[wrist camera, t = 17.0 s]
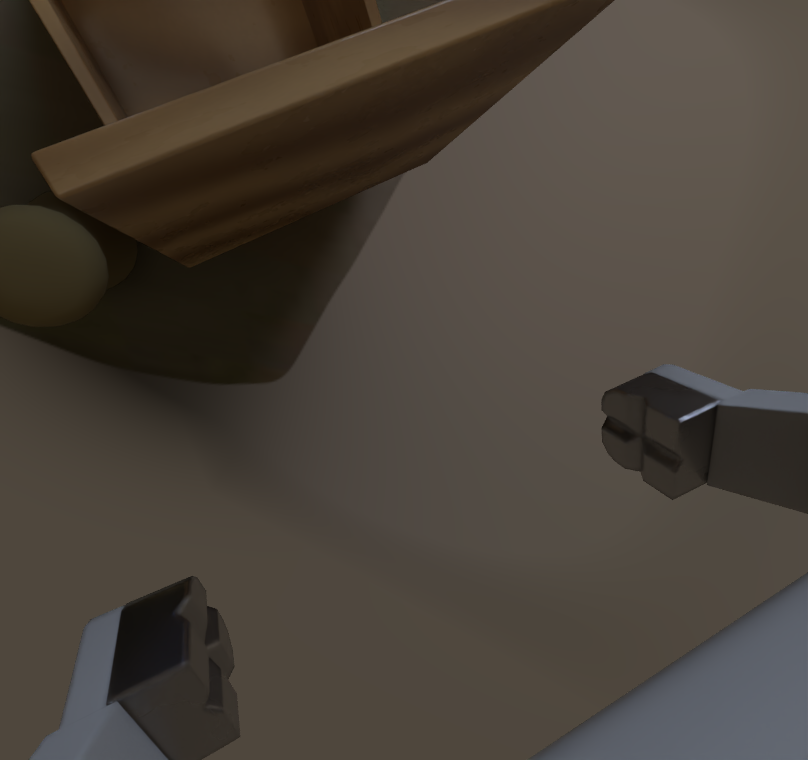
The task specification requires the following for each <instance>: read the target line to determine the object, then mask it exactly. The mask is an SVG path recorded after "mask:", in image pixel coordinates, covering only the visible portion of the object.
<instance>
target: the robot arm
mask: <svg viewBox="0 0 808 760" xmlns="http://www.w3.org/2000/svg"><path fill="white" fill-rule="evenodd" d="M602 411H603V412H604V413H605V414H606V415H607V418H606V420H605V423H604V424H603V426H602V442H603V444H604V446H605V448H606V450H607V452H608V454H609V455H610V456H611V457H612V459H613V460H614V461H615V462H617V463H618V464H619V465H621V466H622V467H624V468H625V469H630V470H635V471H640V472H641V475H642V478H643V481H645V482H646V483H648V484H649V485H651V486H652V487H654V488H655V489H657V490H658V491H660V492H661V493H663V494H664V495H666V496H667V497H669V498H670V499H672V500H673V499H676V498H678V497H679V496H681V495H683V494H685V493H687V492H689V491H691V490H693V489H695V488H697V487H699V486H701V485H703V484H705V483H707V485H709V486H712V487H716V488H719V489H723V490H726V491H730V492H733V493H737V494H740V495H744V496H747V497H751V498H754V499H758V500H761V501H765V502H769V503H772V504H775V505H779V506H782V507H786V508H789V509H793V510H796V511H800V512H803V513H807V514H808V393H798V392H785V391H771V390H758V389H748V390H746V391H744V392H743V391H741V390H738V389H736V388H733V387H730V386H728V385H725V384H722V383H720V382H717V381H714V380H712V379H709V378H707V377H704V376H701V375H698V374H696V373H694V372H691V371H688V370H686V369H683V368H681V367H678V366H675V365H666V364H665V365H664V364H663V365H661V366H659V367H657V368H655V369H653V370H651V371H649V372H646V373H645V374H643V375H641V376H639V377H637V378H635V379H632V380H630V381H628V382H626V383H624V384H621V385H619V386H617V387H615V388H613V389H610V390H608V391H606V392H605V393H604V395H603V398H602ZM233 669H234V658H233V650H232V645H231V642H230V638H229V633H228V630H227V628H226V626H225V623H224V621H223V619H222V617H221V615H220V613H219V612H218V610H217V609H215V608H212V607H209V606H207V599H206V590H205V588H204V587H203V586H202V584H201V583H200V581H199V579H198V578H197V577H194V576H191V577H188V578H186V579H184V580H181V581H179V582H177V583H174V584H172V585H169V586H167V587H165V588H162V589H160V590H158V591H155V592H153V593H150V594H148V595H146V596H144V597H141V598H139V599H136V600H134V601H131V602H129V603H127V604H126V605H124V606H121V607H119V608H116V609H114V610H112V611H109V612H107V613H105V614H102V615H100V616H98V617H95V618H93V619H91V620H90V621H89V622H88V624H87V625H86V626H85V627H84V630H83V633H82V637H81V641H80V645H79V649H78V653H77V658H76V661H75V666H74V670H73V674H72V678H71V682H70V686H69V690H68V694H67V698H66V702H65V706H64V710H63V715H62V719H61V723H60V727H59V730H57V731H55V732H53V733H51V734H49V735H48V736H46V737H45V739H44V740H43V741H42V743H41V744H40V745H39V747H38V748H37V749H36V751H35V752H34V753H33V755H32V756H31V757H30V759H29V760H202V759H203V758H205V757H207V756H208V755H210V754H212V753H214V752H215V751H217V750H219V749H220V748H222V747H224V746H226V745H227V744H229V743H231V742H232V741H234V740H236V739H237V738H239V737H240V728H239V717H238V703H237V693H236V692H235V690H234V689H233V687H232V685H231V684H230V682H229V681H228V679H229V677H230V675H231V673H232V670H233ZM528 760H808V573H806V574H805V575H803V576H802V577H800V578H799V579H797V580H796V581H794V582H793V583H791V584H790V585H788V586H787V587H785V588H784V589H782V590H781V591H779V592H778V593H776V594H775V595H773V596H772V597H770V598H769V599H767V600H766V601H764V602H763V603H761V604H760V605H758V606H757V607H755V608H754V609H752V610H751V611H749V612H748V613H746V614H745V615H743V616H742V617H740V618H739V619H737V620H736V621H734V622H733V623H731V624H730V625H728V626H727V627H725V628H724V629H722V630H721V631H719V632H718V633H716V634H715V635H714V636H712V637H710V638H709V639H707V640H706V641H704V642H703V643H701V644H700V645H698V646H697V647H696V648H694V649H692V650H691V651H689V652H688V653H686V654H685V655H683V656H682V657H680V658H679V659H677V660H676V661H674V662H673V663H671V664H670V665H668V666H667V667H665V668H664V669H663V670H661V671H660V672H658V673H656V674H655V675H653V676H652V677H650V678H649V679H647V680H646V681H645V682H643V683H642V684H640V685H639V686H637V687H636V688H634V689H632V690H631V691H629V692H628V693H626V694H625V695H624V696H622V697H620V698H619V699H618V700H616V701H615V702H613V703H611V704H610V705H608V706H607V707H605V708H604V709H602V710H601V711H600V712H598V713H597V714H595V715H594V716H592V717H591V718H589V719H588V720H586V721H585V722H583V723H582V724H580V725H579V726H577V727H576V728H574V729H573V730H571V731H570V732H568V733H567V734H565V735H564V736H562V737H561V738H559V739H558V740H557V741H555V742H553V743H552V744H550V745H549V746H547V747H546V748H544V749H543V750H541V751H540V752H538V753H537V754H535V755H534V756H532V757H531V758H529V759H528Z"/></svg>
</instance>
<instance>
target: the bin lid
mask: <svg viewBox="0 0 808 760" xmlns="http://www.w3.org/2000/svg"><path fill="white" fill-rule="evenodd" d="M613 1H614V0H444V1H441V2H438V3H436V4H433V5H430V6H427V7H425V8H422V9H419V10H417V11H414V12H411V13H409V14H406V15H403V16H400V17H398V18H395V19H392V20H390V21H387V22H384V23H381V24H379V25H376V26H373V27H371V28H368V29H365V30H363V31H360V32H357V33H354V34H352V35H349V36H346V37H344V38H341V39H338V40H335V41H333V42H330V43H327V44H325V45H322V46H319V47H316V48H314V49H311V50H308V51H306V52H303V53H300V54H298V55H295V56H292V57H289V58H287V59H284V60H281V61H279V62H276V63H273V64H270V65H268V66H265V67H262V68H260V69H257V70H254V71H251V72H249V73H246V74H243V75H241V76H238V77H235V78H233V79H230V80H227V81H224V82H222V83H219V84H216V85H214V86H211V87H208V88H205V89H203V90H200V91H197V92H195V93H192V94H189V95H186V96H184V97H181V98H178V99H176V100H173V101H170V102H168V103H165V104H162V105H159V106H157V107H154V108H151V109H149V110H146V111H143V112H140V113H138V114H135V115H132V116H130V117H127V118H124V119H122V120H119V121H116V122H113V123H111V124H108V125H105V126H103V127H100V128H97V129H94V130H92V131H89V132H86V133H84V134H81V135H78V136H75V137H73V138H70V139H67V140H65V141H62V142H59V143H57V144H54V145H51V146H48V147H46V148H43V149H40V150H38V151H35V152H33V153H32V154H31V156H32V160H33V162H34V163H35V165H36V166H37V168H38V170H39V171H40V173H41V174H42V176H43V178H44V179H45V181H46V182H47V184H48V186H49V187H50V189H51V190H52V192H53V194H54V195H55V196H56V197H57V198H58V199H60V200H62V201H64V202H66V203H67V204H69V205H71V206H73V207H75V208H77V209H79V210H81V211H83V212H84V213H86V214H88V215H90V216H92V217H94V218H96V219H98V220H100V221H101V222H103V223H105V224H107V225H109V226H111V227H113V228H115V229H117V230H118V231H120V232H122V233H124V234H126V235H128V236H130V237H132V238H134V239H135V240H137V241H139V242H141V243H143V244H145V245H147V246H149V247H150V248H152V249H154V250H156V251H158V252H160V253H162V254H164V255H166V256H167V257H169V258H171V259H173V260H175V261H177V262H179V263H181V264H183V265H184V266H186V267H188V268H191V267H193V266H195V265H197V264H200V263H202V262H204V261H206V260H209V259H211V258H213V257H215V256H218V255H220V254H222V253H224V252H227V251H229V250H231V249H233V248H236V247H238V246H240V245H242V244H245V243H247V242H249V241H251V240H254V239H256V238H258V237H260V236H263V235H265V234H267V233H269V232H272V231H274V230H276V229H278V228H281V227H283V226H285V225H288V224H290V223H292V222H294V221H297V220H299V219H301V218H303V217H306V216H308V215H310V214H312V213H315V212H317V211H319V210H321V209H324V208H326V207H328V206H330V205H333V204H335V203H337V202H339V201H342V200H344V199H346V198H348V197H351V196H353V195H355V194H357V193H360V192H362V191H364V190H366V189H369V188H371V187H373V186H375V185H378V184H380V183H382V182H384V181H387V180H389V179H391V178H393V177H396V176H398V175H400V174H402V173H405V172H407V171H409V170H411V169H414V168H416V167H418V166H421V165H423V164H425V163H427V162H428V161H429V160H431V159H432V158H433V157H434V156H435V155H437V154H438V153H439V152H440V151H441V150H442V149H443V148H445V147H446V146H447V145H448V144H449V143H450V142H451V141H453V140H454V139H455V138H456V137H457V136H458V135H459V134H461V133H462V132H463V131H464V130H465V129H466V128H468V127H469V126H470V125H471V124H472V123H473V122H475V121H476V120H477V119H478V118H479V117H480V116H481V115H483V114H484V113H485V112H486V111H487V110H488V109H489V108H491V107H492V106H493V105H494V104H495V103H497V102H498V101H499V100H500V99H501V98H502V97H503V96H504V95H506V94H507V93H508V92H509V91H510V90H512V89H513V88H514V87H515V86H516V85H517V84H518V83H520V82H521V81H522V80H523V79H524V78H525V77H527V76H528V75H529V74H530V73H531V72H532V71H533V70H535V69H536V68H537V67H538V66H539V65H540V64H542V63H543V62H544V61H545V60H546V59H547V58H548V57H549V56H551V55H552V54H553V53H554V52H555V51H557V50H558V49H559V48H560V47H561V46H562V45H563V44H565V43H566V42H567V41H568V40H569V39H570V38H572V37H573V36H574V35H575V34H576V33H577V32H579V31H580V30H581V29H582V28H583V27H584V26H585V25H587V24H588V23H589V22H590V21H591V20H592V19H594V18H595V17H596V16H597V15H598V14H599V13H600V12H601V11H603V10H604V9H605V8H606V7H607V6H608V5H610V4H611V3H612V2H613Z"/></svg>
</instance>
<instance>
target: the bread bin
mask: <svg viewBox="0 0 808 760" xmlns="http://www.w3.org/2000/svg"><path fill="white" fill-rule="evenodd" d="M29 1H30V3H31V5H32V6H33V8H34V10H35V11H36V13H37V15H38V16H39V18H40V20H41V21H42V23H43V25H44V26H45V28H46V30H47V31H48V33H49V35H50V36H51V38H52V40H53V41H54V43H55V45H56V46H57V48H58V50H59V51H60V53H61V55H62V56H63V58H64V60H65V61H66V63H67V65H68V66H69V68H70V70H71V71H72V73H73V75H74V76H75V78H76V80H77V81H78V83H79V85H80V86H81V88H82V90H83V91H84V93H85V95H86V96H87V98H88V100H89V101H90V103H91V105H92V106H93V108H94V110H95V111H96V113H97V115H98V116H99V118H100V120H101V121H102V123H103V125H104V126H105V125H108V124H111V123H113V122H116V121H119V120H122V119H124V118H127V117H130V116H132V115H135V114H138V113H140V112H143V111H146V110H149V109H151V108H154V107H157V106H159V105H162V104H165V103H168V102H170V101H173V100H176V99H178V98H181V97H184V96H186V95H189V94H192V93H195V92H197V91H200V90H203V89H205V88H208V87H211V86H214V85H216V84H219V83H222V82H224V81H227V80H230V79H233V78H235V77H238V76H241V75H243V74H246V73H249V72H251V71H254V70H257V69H260V68H262V67H265V66H268V65H270V64H273V63H276V62H279V61H281V60H284V59H287V58H289V57H292V56H295V55H298V54H300V53H303V52H306V51H308V50H311V49H314V48H316V47H319V46H322V45H325V44H327V43H330V42H333V41H335V40H338V39H341V38H344V37H346V36H349V35H352V34H354V33H357V32H360V31H363V30H365V29H368V28H371V27H373V26H376V25H379V24H381V23H382V20H381V17H380V14H379V10H378V7H377V3H376V0H29Z"/></svg>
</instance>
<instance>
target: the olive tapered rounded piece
mask: <svg viewBox="0 0 808 760" xmlns="http://www.w3.org/2000/svg"><path fill="white" fill-rule="evenodd" d="M137 253H138V249H137V242H136V240H135V239H134V238H132V237H130V236H128V235H126V234H124V233H122V232H120V231H118V230H117V229H115V228H113V227H111V226H109V225H107V224H105V223H103V222H101V221H100V220H98V219H96V218H94V217H92V216H90V215H88V214H86V213H84V212H83V211H81V210H79V209H77V208H75V207H73V206H71V205H69V204H67V203H66V202H64V201H62V200H60V199H58V198H57V197H56V196H55V195H54V194H53V192H52V191H50V192H45V193H43V194H41V195H40V196H38V197H37V198H35V199H34V200H32V201H31V202H29V203H28V204H27V205H9V206H5V207H1V208H0V317H2V318H4V319H6V320H8V321H10V322H13V323H18V324H22V325H27V326H31V327H56V326H61V325H64V324H68V323H71V322H74V321H78V320H80V319H81V318H82V317H84V316H85V315H87V314H88V313H90V312H91V311H93V310H94V308H95V307H96V306H97V304H98V303H99V301H100V300H101V298H102V297H103V295H104V294H105V291H106V290H107V289H109V288H112V287H114V286H116V285H117V284H118V283H120V282H121V281H123V280H124V279H126V278H127V276H128V275H129V273H130V272H131V270H132V269H133V268H134V266H135V262H136V257H137Z"/></svg>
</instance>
